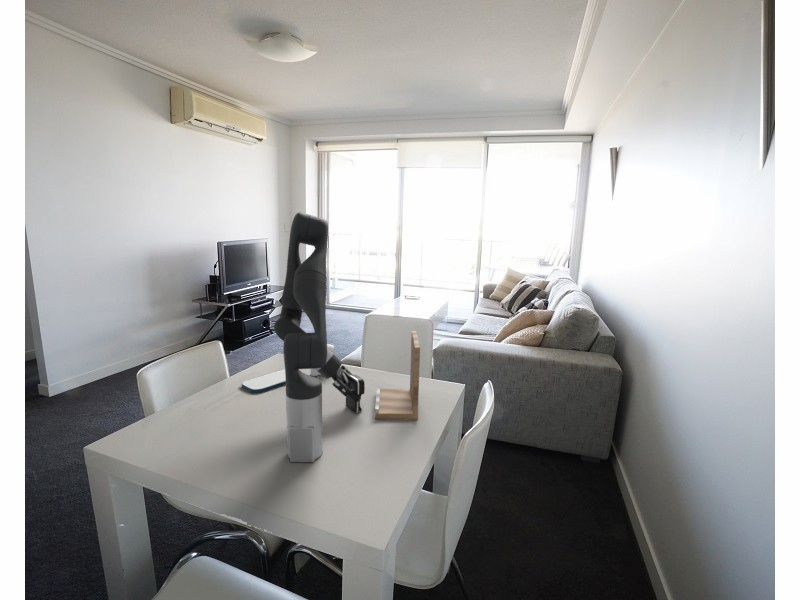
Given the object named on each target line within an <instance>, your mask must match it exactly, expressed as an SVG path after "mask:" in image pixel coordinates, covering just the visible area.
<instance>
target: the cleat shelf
mask: <svg viewBox="0 0 800 600" xmlns="http://www.w3.org/2000/svg"><path fill="white" fill-rule="evenodd" d="M410 343H411V345H410V346H411V347H410V372H409V373H410V375H409V377H410V378H409V388H381V384H377V385H376V395H375V405H374V406H375V408H374V420H396V421H397V420H399V421H400V420H402V421H403V420H405V421H406V420H408V421H413V420H414V421H415V420H416V421H418V420H419V391H420V388H419V387H420V365H421V364H420V363H421V362H420V360H421V359H420V358H421V346H420V340H419V337H418V332H417V330H411V341H410Z"/></svg>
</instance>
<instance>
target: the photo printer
mask: <svg viewBox="0 0 800 600" xmlns="http://www.w3.org/2000/svg"><path fill="white" fill-rule="evenodd" d="M327 348H328V349H329V350H330V351H331V352H332V353H333V354H334V355H335V356H336V350H335V345H333V344H330V343H327ZM310 376H312V377H317V376H322V375H321V374H320V373H319V372H318V371H317V370H316V369H312V368H311V369H310Z"/></svg>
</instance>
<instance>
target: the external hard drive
mask: <svg viewBox="0 0 800 600" xmlns="http://www.w3.org/2000/svg"><path fill="white" fill-rule="evenodd" d="M300 371H301V372H303V373H304V374H306V372H304V371H303V370H300ZM284 386H286V376H285V368H283V369H281V370H276V371H273V372H270V373H267V374H264V375H260V376H257V377H254V378H251V379H246V380H244V381H242V383H241V388H242V389H243V390H244V389H245V391H246V390H247V392H248V391H249V392H248V393H250V394H255V393H256V394H262V393H265V392H269V391H271V390H274V389H278V388H280V387H284Z"/></svg>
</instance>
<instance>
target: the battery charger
mask: <svg viewBox="0 0 800 600" xmlns="http://www.w3.org/2000/svg"><path fill="white" fill-rule="evenodd" d="M347 378H348V381H349V382H350V386H351V387H352V389H353V390H354V391H355V392H356V393H357V394H358V395H359V396H361V397H362V395H364V394H365V391H366V390H365V388H366V387H365V380H364V378H362V377H361V376H358V375H357V374H352V375H349V376H347ZM345 407H346V408H347V409H349V411H351V412H352V413H354V414H358V413H361V412H362V411H363V409H362V407H361V399H360V400H359V401H358V402H355V401H354V400H353V399H352V398H351V397H350V396H349V395H347V396H345Z"/></svg>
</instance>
